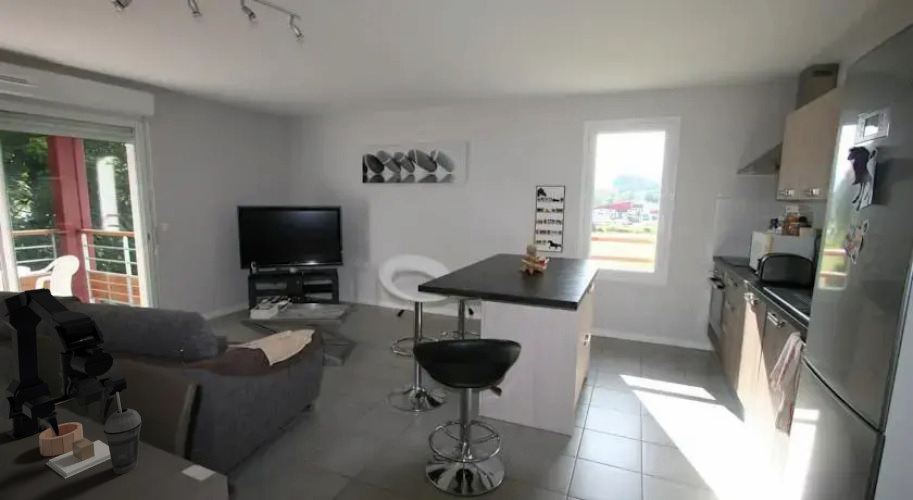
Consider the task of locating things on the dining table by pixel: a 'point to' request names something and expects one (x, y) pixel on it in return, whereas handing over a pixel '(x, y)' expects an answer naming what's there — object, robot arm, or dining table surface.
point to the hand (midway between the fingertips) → (81, 426)
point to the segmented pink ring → (60, 439)
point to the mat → (74, 473)
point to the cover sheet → (78, 465)
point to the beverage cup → (123, 438)
